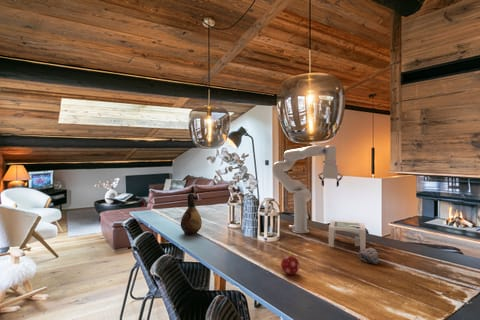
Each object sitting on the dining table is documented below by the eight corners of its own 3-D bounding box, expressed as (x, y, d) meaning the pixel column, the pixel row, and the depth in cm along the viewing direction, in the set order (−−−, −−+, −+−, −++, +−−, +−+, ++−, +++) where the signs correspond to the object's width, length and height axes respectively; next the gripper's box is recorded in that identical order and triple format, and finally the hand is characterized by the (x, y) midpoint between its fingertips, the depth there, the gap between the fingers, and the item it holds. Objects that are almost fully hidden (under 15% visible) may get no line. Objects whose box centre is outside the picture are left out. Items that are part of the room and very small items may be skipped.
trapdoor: (334, 227, 179) (334, 226, 179) (335, 223, 192) (336, 221, 192) (358, 234, 174) (358, 233, 174) (357, 229, 187) (358, 228, 187)
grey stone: (354, 238, 179) (363, 239, 177) (354, 236, 183) (363, 237, 181) (354, 246, 179) (363, 247, 177) (354, 243, 183) (362, 244, 181)
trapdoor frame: (328, 246, 177) (328, 227, 177) (330, 237, 196) (331, 220, 196) (365, 250, 169) (365, 230, 169) (364, 241, 188) (364, 223, 188)
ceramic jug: (205, 234, 203) (205, 194, 203) (185, 238, 194) (185, 195, 194) (195, 229, 217) (195, 191, 217) (176, 232, 208) (176, 192, 208)
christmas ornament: (286, 268, 141) (286, 249, 141) (302, 273, 135) (302, 252, 135) (277, 274, 134) (277, 253, 134) (293, 279, 128) (293, 257, 128)
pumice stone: (361, 268, 148) (381, 265, 145) (357, 253, 149) (377, 250, 145) (360, 261, 158) (379, 258, 154) (356, 247, 158) (374, 244, 155)
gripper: (317, 162, 200) (317, 186, 200) (343, 163, 193) (342, 187, 193) (318, 162, 207) (318, 185, 207) (343, 162, 200) (343, 186, 200)
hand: (330, 186), depth 200 cm, fingers open, 9 cm apart
